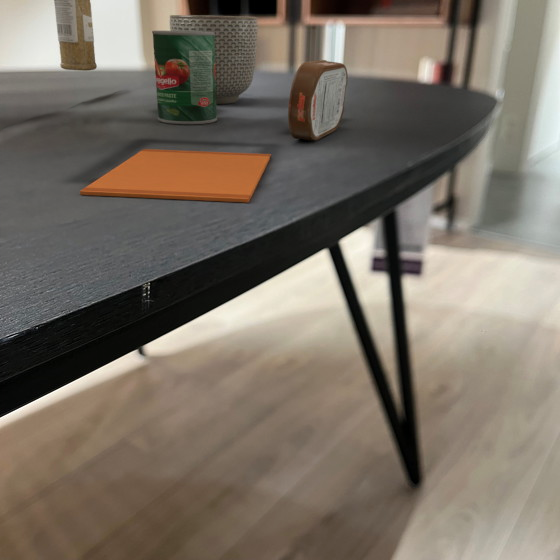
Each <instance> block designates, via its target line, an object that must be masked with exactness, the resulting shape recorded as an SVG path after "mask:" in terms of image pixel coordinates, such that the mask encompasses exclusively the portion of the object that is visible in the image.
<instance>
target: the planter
mask: <svg viewBox="0 0 560 560" xmlns="http://www.w3.org/2000/svg"><path fill="white" fill-rule="evenodd" d="M258 23H259V22H258V18H257V17H256V16H232V15H197V14H196V15H194V14H192V15H191V14H189V15H188V14H187V15H186V14H170V15H169V31H200V32H214V33H215V35H214V43H215V73H216V75H215V78H216V105H228V104H234V103H237V101H238V100H239V98H240V95H241V94H243V93H245V92H246V91H247V90H248V89H249V88H250V87H251V85H252V82H253V79H254V76H255V75H254V74H255V67H256V59H257V45H258V44H257V43H258V28H259V26H258V25H259V24H258Z"/></svg>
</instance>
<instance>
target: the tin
mask: <svg viewBox="0 0 560 560" xmlns="http://www.w3.org/2000/svg"><path fill="white" fill-rule="evenodd" d="M348 79H349V78H348V69H347V67H346V65H345V64H344V63H341V62H338V61H337V62H336V61H329V60H326V59H322V60H312V61H304V62H303V63H301V64H300V65H299V67H298V68H297V70H296V72H295V75H294V77H293V79H292V84H291V87H290V88H291V89H290V93H289V99H288V107H287V118H288V119H287V121H288V129H289V133H290V135H291V137H292V138H293V139H294V140H305V141H311V142H312V141H318V140H320V139H321V138H322V139H323V137H325V136H327V135H330V134H331V133H333V132H335V131H336V130H337V129H338V127H339V126H340V124H341V122H342V118H343V115H344V112H345V111H344V110H345V100H346V92H347V87H348V86H347V85H348V81H349V80H348Z"/></svg>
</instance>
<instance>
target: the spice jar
mask: <svg viewBox="0 0 560 560" xmlns="http://www.w3.org/2000/svg"><path fill="white" fill-rule="evenodd" d="M53 3H54V13H55V22H56V32H57V40H58V43H59V45H58V46H59V54H60V64H59V65H60V68H61V69H63V70H66V71H82V72H83V71H88V72H89V71H94V70H96V69H97V67H98V65H97V63H96V52H95V37H94V35H95V34H94V27H93V26H94V25H93V14H92V4H91V3H92V2H91V0H53Z"/></svg>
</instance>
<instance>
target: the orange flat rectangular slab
mask: <svg viewBox="0 0 560 560" xmlns="http://www.w3.org/2000/svg"><path fill="white" fill-rule="evenodd" d="M271 156H272V154H271V153H252V152H250V153H249V152H225V151H200V150H177V149H175V150H174V149H154V148H153V149H152V148H151V149H150V148H143V149H141V150H140V151H138V152H137V153H136V154H134V155H132V156H131V157H129V158H128V159H127V160H125V161H123V162H122V163H120V164H119V165H118V166H116V167H114V168H113V169H111V170H109V171H108V172H107V173H105V174H104V175H102V176H101V177H99V178H98V179H96V180H95V181H93V182H92V183H89V185H87V186H85V187H83V188H82V189H81V190H79V195H80V196H101V197H121V198H140V199H141V198H143V199H162V200H181V201H182V200H183V201H204V202H224V203H225V202H227V203H245V204H246V203H247V204H249V203H250V201H251V199H252V196H253V195H254V193H255V191H256V188H257V187H258V184H259V183H260V180H261V178H262V176H263V174H264V172H265V170H266V168H267V166H268V164H269V162H270V160H271Z"/></svg>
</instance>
